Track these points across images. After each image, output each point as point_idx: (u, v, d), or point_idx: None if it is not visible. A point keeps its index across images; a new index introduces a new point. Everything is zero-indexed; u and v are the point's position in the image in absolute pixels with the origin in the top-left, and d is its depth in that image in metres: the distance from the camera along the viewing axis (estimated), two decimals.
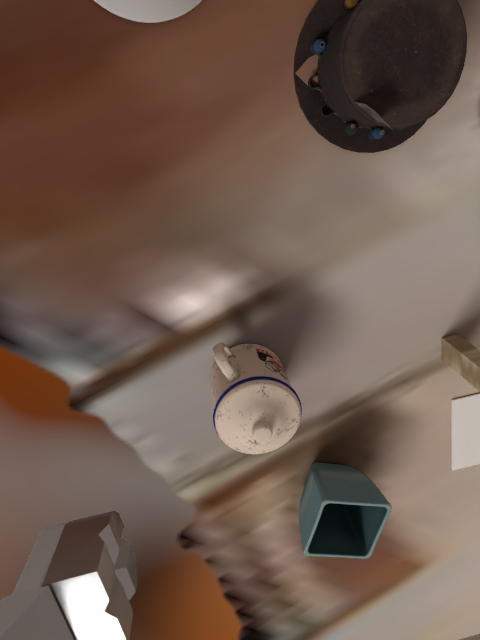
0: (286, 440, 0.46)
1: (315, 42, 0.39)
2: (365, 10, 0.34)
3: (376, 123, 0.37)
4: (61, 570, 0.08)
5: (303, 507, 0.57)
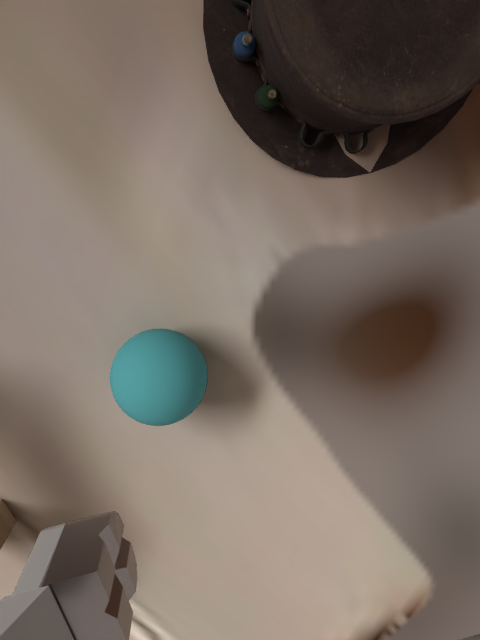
0: None
1: None
2: None
3: None
4: (62, 569, 0.08)
5: None
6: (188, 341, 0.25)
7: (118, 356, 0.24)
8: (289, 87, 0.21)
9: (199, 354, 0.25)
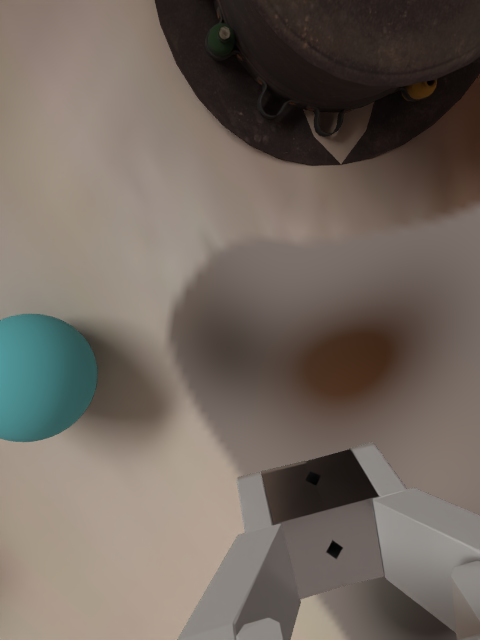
0: None
1: None
2: None
3: None
4: (285, 509, 0.08)
5: None
6: (73, 335, 0.19)
7: None
8: (246, 24, 0.15)
9: (86, 354, 0.19)
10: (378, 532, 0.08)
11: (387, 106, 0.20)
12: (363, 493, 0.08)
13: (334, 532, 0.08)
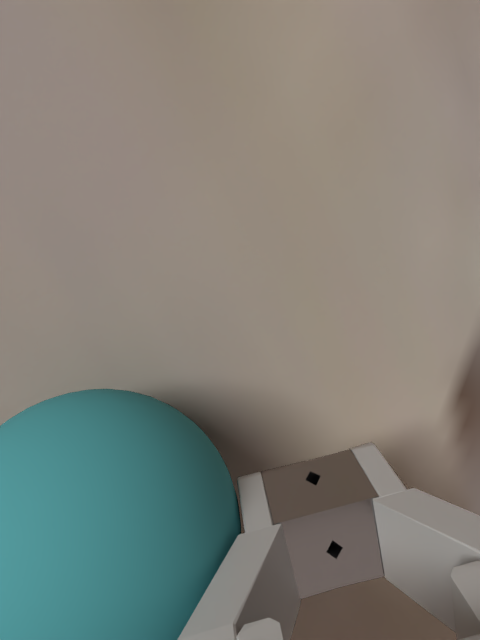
0: None
1: None
2: None
3: None
4: (285, 509, 0.08)
5: None
6: (145, 536, 0.06)
7: None
8: None
9: (160, 604, 0.06)
10: (378, 532, 0.08)
11: None
12: (363, 493, 0.08)
13: (334, 532, 0.08)
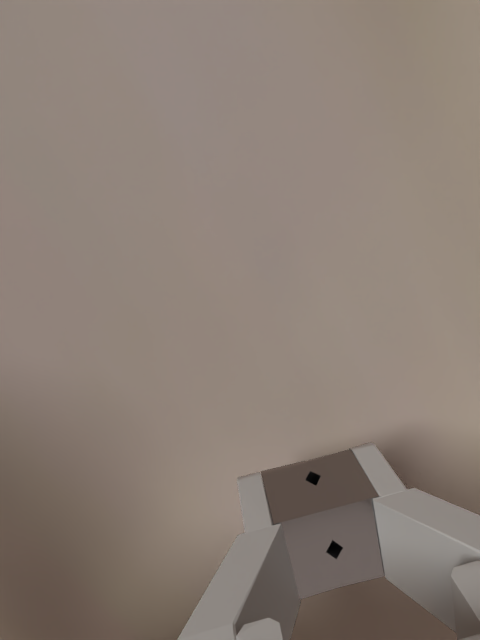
0: None
1: None
2: None
3: None
4: (285, 510, 0.08)
5: None
6: None
7: None
8: None
9: None
10: (378, 532, 0.08)
11: None
12: (363, 493, 0.08)
13: (334, 532, 0.08)
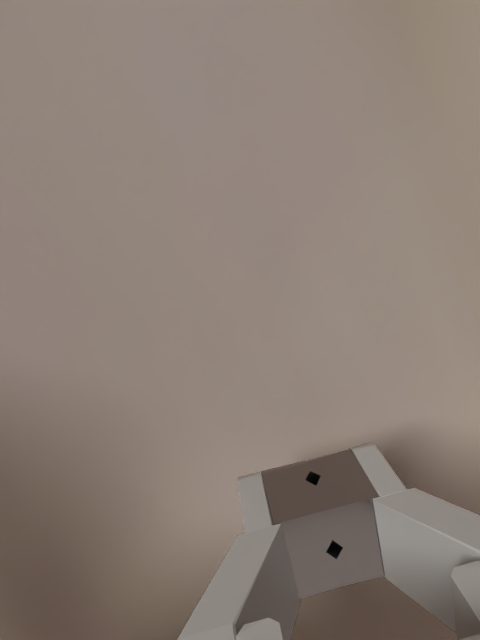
0: None
1: None
2: None
3: None
4: (285, 510, 0.08)
5: None
6: None
7: None
8: None
9: None
10: (378, 532, 0.08)
11: None
12: (363, 493, 0.08)
13: (334, 532, 0.08)
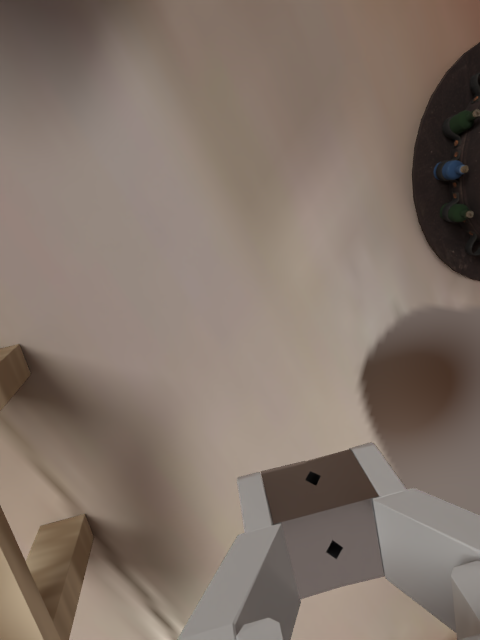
0: None
1: None
2: None
3: None
4: (285, 510, 0.08)
5: None
6: None
7: None
8: None
9: None
10: (378, 532, 0.08)
11: None
12: (363, 493, 0.08)
13: (334, 532, 0.08)
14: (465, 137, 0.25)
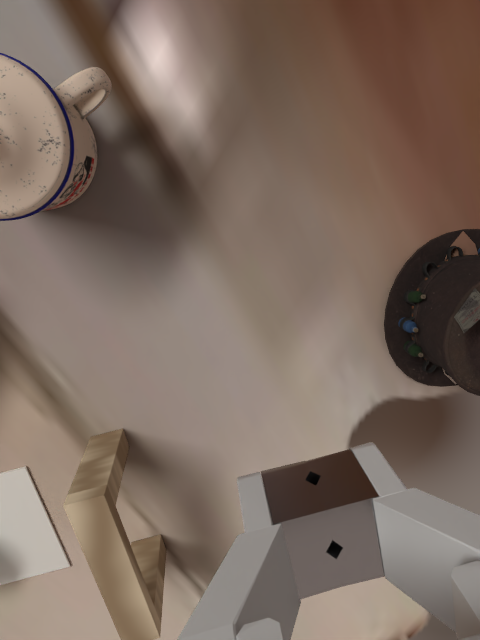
0: None
1: None
2: None
3: (451, 316, 0.33)
4: (285, 510, 0.08)
5: None
6: None
7: None
8: (433, 357, 0.38)
9: None
10: (378, 532, 0.08)
11: None
12: (363, 493, 0.08)
13: (334, 532, 0.08)
14: (418, 306, 0.38)
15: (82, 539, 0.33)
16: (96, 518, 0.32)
